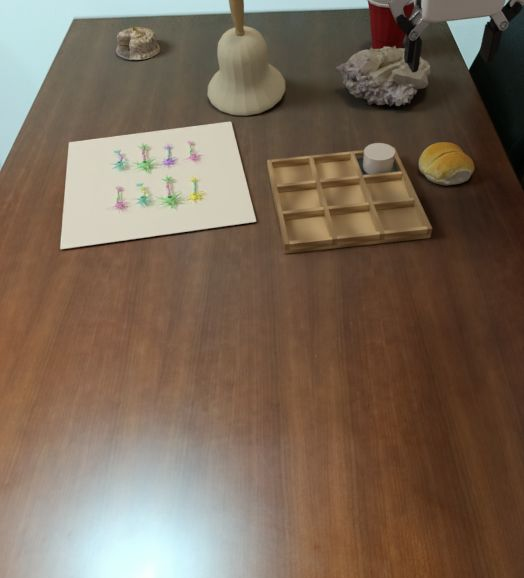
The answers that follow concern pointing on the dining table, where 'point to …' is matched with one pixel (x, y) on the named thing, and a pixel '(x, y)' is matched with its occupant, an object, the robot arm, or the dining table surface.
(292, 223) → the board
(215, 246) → the dining table surface
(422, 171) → the bread roll
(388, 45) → the plastic cup
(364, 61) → the geode
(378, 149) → the white cylinder puck
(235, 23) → the handbell
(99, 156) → the printed paper
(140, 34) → the cake
